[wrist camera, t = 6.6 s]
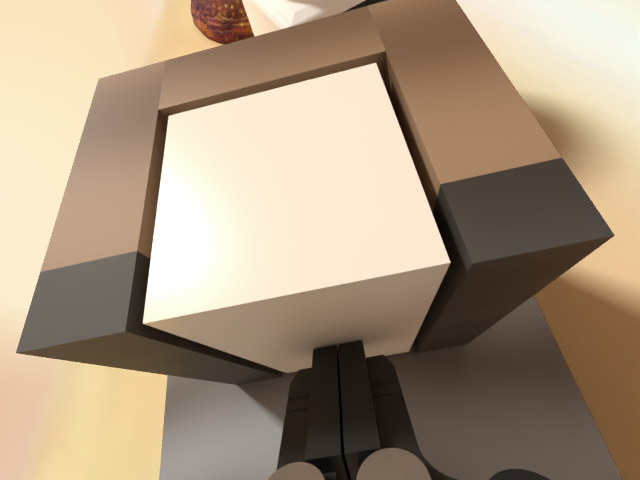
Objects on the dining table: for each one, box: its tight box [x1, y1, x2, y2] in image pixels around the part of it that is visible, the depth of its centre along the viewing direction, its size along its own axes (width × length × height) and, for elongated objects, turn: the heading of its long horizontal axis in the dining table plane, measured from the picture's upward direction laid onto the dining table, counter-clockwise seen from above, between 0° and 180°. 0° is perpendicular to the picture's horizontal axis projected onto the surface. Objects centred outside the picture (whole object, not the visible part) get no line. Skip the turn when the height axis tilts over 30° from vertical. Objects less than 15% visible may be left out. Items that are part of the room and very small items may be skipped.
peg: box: [143, 63, 451, 373], centre depth 10 cm, size 5×5×9 cm
